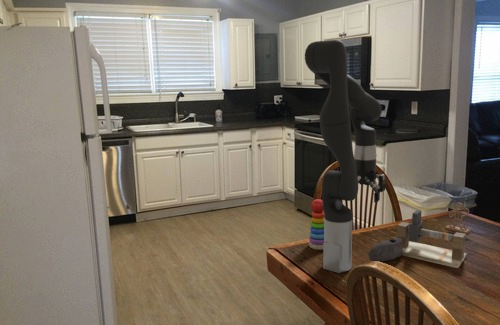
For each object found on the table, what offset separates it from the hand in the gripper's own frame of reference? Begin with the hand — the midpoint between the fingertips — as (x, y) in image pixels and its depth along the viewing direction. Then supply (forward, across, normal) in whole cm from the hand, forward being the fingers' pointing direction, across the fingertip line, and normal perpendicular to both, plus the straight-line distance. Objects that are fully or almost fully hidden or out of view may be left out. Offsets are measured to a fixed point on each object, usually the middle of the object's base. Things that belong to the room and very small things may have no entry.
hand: (364, 200), depth 155 cm
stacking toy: (+19, -16, -7) cm, 26 cm away
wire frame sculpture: (+22, +23, +41) cm, 52 cm away
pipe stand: (+20, +21, +9) cm, 30 cm away
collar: (+15, +16, +9) cm, 24 cm away
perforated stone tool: (+20, +10, -4) cm, 22 cm away
